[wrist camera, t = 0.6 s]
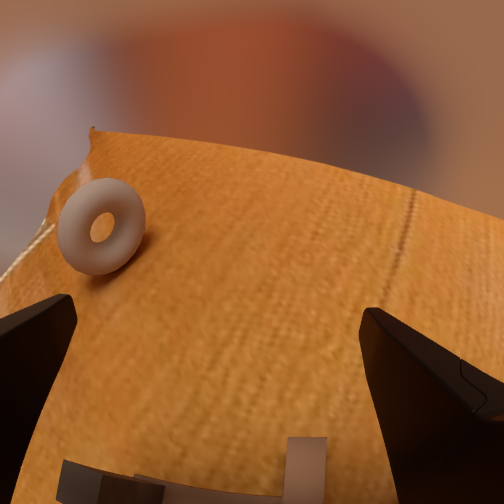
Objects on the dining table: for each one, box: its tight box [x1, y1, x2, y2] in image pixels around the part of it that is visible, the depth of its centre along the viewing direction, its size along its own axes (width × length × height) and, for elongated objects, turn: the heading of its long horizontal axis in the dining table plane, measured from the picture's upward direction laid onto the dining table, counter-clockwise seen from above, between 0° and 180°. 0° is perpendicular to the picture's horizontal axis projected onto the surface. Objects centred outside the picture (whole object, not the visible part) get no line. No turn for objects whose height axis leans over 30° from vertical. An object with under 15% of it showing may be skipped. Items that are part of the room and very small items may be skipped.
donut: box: [57, 178, 146, 275], centre depth 29 cm, size 10×4×10 cm, turn 142°
